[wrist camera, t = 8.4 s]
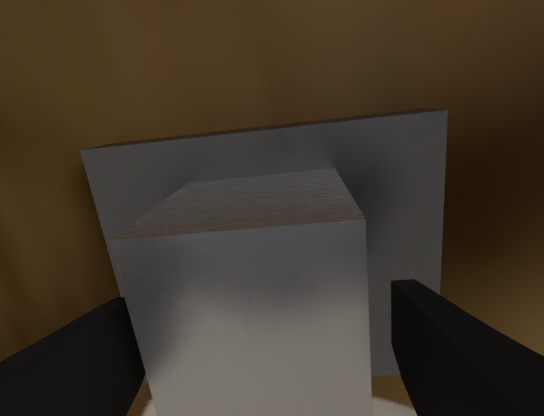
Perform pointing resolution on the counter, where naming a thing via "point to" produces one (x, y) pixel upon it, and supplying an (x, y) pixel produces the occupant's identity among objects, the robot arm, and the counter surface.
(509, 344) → the robot arm
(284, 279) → the block
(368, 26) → the counter surface
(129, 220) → the stand
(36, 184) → the counter surface
